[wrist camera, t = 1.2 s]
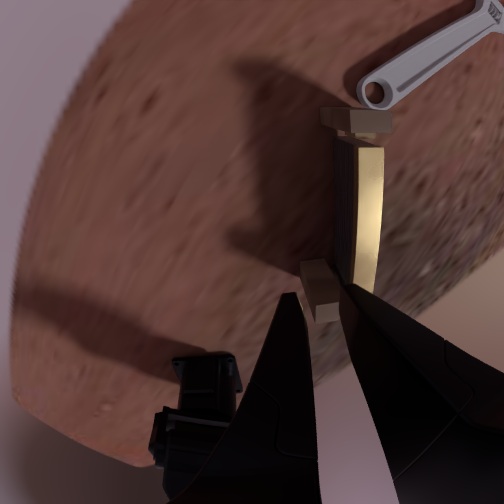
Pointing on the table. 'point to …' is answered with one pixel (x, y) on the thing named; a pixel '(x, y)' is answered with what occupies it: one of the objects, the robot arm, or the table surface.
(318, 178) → the table surface
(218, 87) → the table surface
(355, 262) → the gate panel
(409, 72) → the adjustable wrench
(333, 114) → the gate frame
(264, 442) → the robot arm
